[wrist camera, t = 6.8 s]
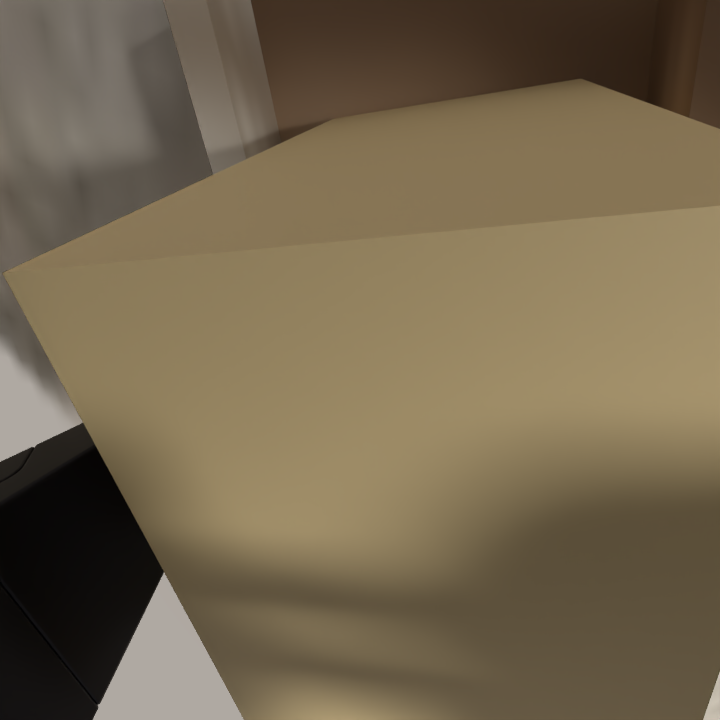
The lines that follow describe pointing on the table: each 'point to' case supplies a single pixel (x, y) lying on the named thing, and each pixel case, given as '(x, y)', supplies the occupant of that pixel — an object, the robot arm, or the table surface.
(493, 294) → the carton
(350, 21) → the shelf
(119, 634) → the robot arm
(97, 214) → the table surface
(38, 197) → the table surface
